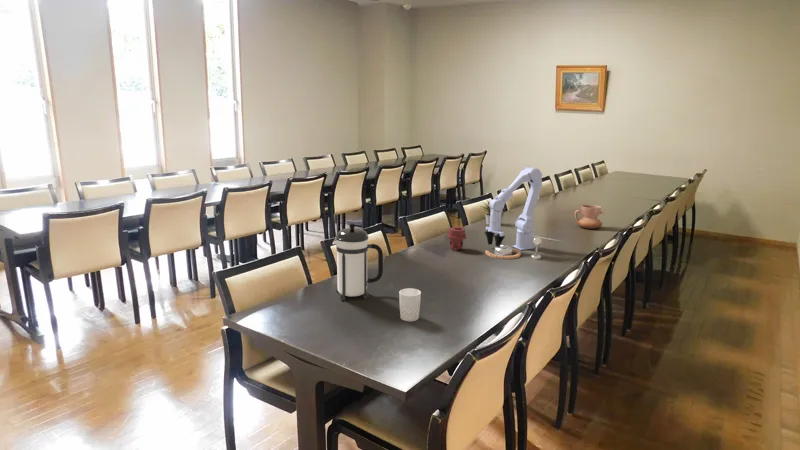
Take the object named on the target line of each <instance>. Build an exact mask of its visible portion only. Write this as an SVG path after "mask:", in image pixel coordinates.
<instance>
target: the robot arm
mask: <svg viewBox="0 0 800 450" xmlns="http://www.w3.org/2000/svg"><path fill="white" fill-rule="evenodd" d="M542 177H543V173H542V172H541V170H540V169H538V168H535V167H531V166H525V167H523V169H522V170H521V171H520V172H519V174H518V175H517V177H516V178H515V179H514V181H513V182H512V183H510V185H509V186H508V187H507V188H503V189H501V190H500V193H499V194H497V196H495V197H494V198H493V199H491V200H490V201H489V202H490V204H489V205H488V206H489V207H490V208H491V213H490V225H489V226H485V231H484V234H485V237H486V240H487V244H488V245H493V241H494V240H495V246H499V245H500V244H503V243H502V242H503V240H504V239H505V236H506V235H505V232H504V231H503V230H501V227H502V225H501V222H502V210H504V207H505V205H506V204H507V202H508V201H509V200H510V199H512V197H513V194H514V192H515V191H516V190H517V189H518V188H519V187H520V186H521V185H522V184H524V183H527V182H528V183H529V184H530V188H529V191H528V194H527V198H526V199H525V200H526V201H525V205H524V207H523V210H522V213H521V214H520V215H519V216H518V218H517V219H516V221H515V223H514V225H515V228H516V241H515V244H514V245H512V248H513V247H514V249H516V250H519V251H523V250H532V249H536V246H535V245H534V244H533V239H534V238H536V236H535V233H534V232H533V230H534V222H535V221H534V218H533V215H534V212H535V208H536V205H537V203H538V200H539V195H540V193H541V191H542V186H543V180H542Z"/></svg>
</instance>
